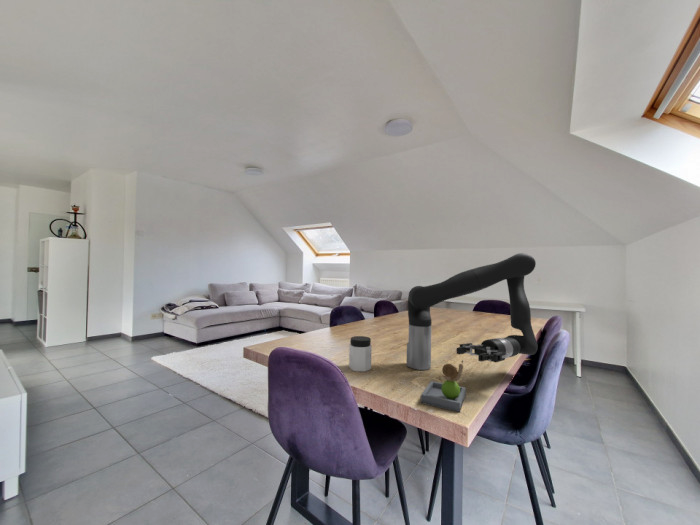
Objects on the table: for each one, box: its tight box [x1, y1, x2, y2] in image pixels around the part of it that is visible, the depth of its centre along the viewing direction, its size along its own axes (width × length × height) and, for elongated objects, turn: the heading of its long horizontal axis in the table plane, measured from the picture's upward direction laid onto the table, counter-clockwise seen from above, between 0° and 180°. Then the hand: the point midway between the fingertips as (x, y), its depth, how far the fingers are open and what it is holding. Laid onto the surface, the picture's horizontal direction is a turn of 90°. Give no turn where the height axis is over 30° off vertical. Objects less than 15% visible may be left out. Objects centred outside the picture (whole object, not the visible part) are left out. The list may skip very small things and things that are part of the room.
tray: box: [420, 380, 467, 413], centre depth 92 cm, size 11×13×2 cm
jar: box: [348, 335, 373, 373], centre depth 119 cm, size 9×8×12 cm
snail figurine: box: [441, 359, 465, 399], centre depth 90 cm, size 5×6×12 cm
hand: (468, 354), depth 99 cm, fingers open, 8 cm apart
